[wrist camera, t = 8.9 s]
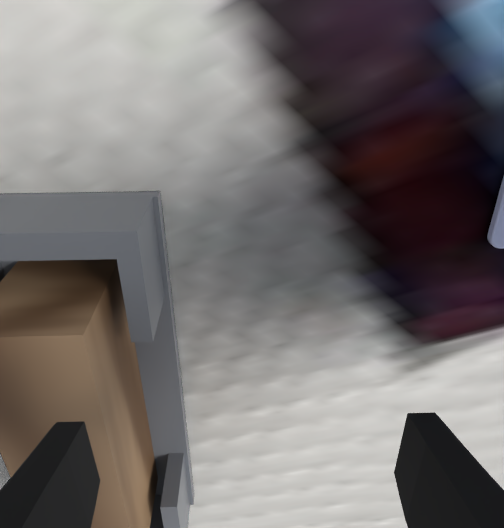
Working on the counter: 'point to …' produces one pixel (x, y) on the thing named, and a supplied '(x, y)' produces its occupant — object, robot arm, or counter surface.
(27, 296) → the slat
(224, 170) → the counter surface
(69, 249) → the cradle
